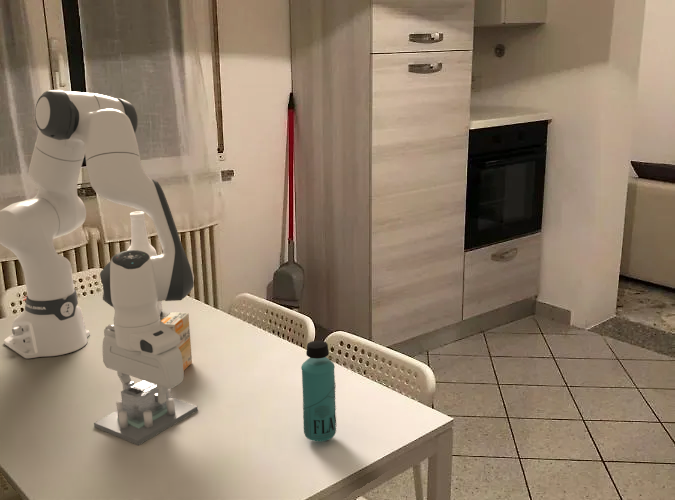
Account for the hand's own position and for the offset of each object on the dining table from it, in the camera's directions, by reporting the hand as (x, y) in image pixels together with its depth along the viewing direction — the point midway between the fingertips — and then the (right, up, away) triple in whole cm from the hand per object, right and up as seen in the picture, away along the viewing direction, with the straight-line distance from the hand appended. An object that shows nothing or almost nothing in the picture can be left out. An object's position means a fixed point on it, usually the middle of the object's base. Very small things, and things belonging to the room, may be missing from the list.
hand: (144, 396), depth 143 cm
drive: (0, -4, +1) cm, 4 cm away
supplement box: (+1, +1, +24) cm, 24 cm away
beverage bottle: (+36, -7, -8) cm, 37 cm away
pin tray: (0, -5, +1) cm, 5 cm away
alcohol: (-16, +11, +60) cm, 63 cm away
